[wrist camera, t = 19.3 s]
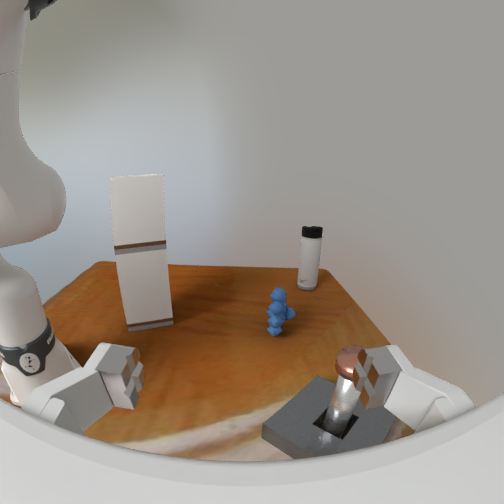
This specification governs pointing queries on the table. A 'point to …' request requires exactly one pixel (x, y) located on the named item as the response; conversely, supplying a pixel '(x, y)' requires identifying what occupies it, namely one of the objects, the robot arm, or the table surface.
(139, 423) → the table surface
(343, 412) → the steel pin
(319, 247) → the travel mug
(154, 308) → the striped white pillar
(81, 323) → the table surface
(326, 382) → the block
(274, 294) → the grapes
